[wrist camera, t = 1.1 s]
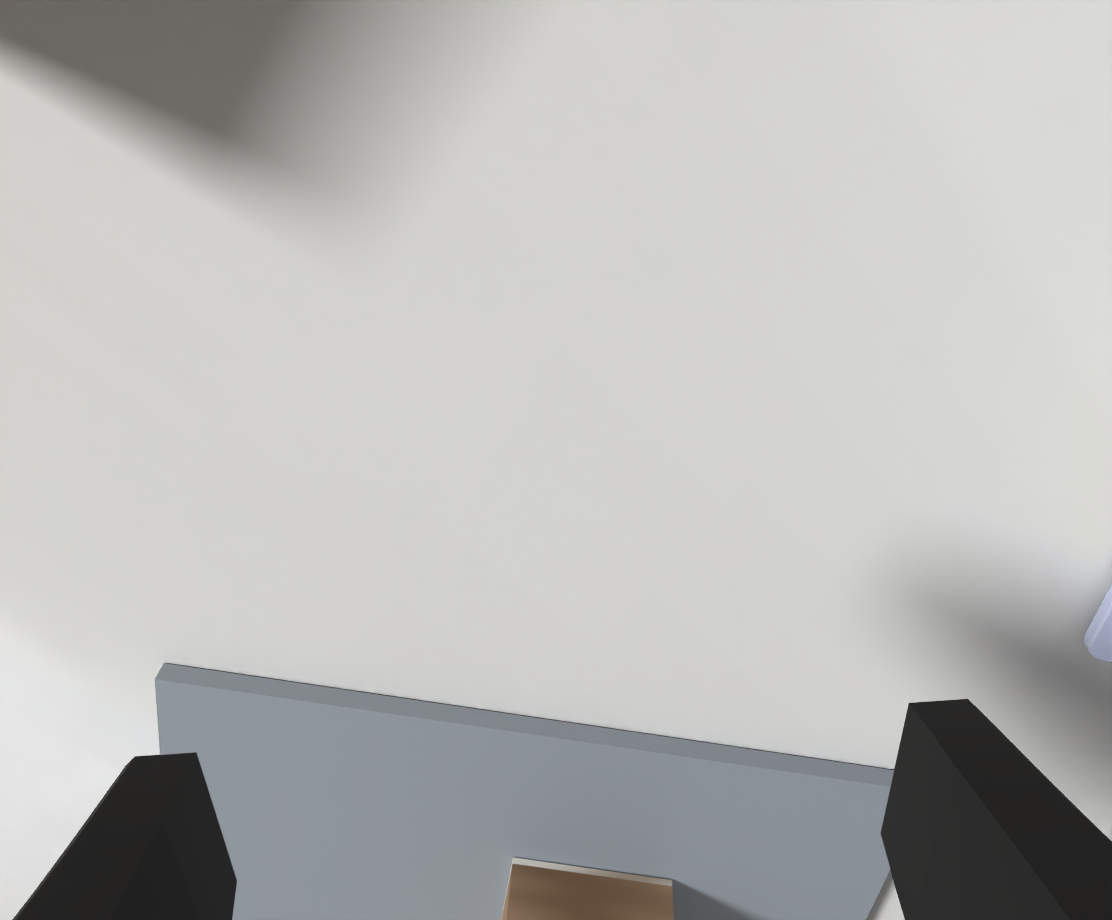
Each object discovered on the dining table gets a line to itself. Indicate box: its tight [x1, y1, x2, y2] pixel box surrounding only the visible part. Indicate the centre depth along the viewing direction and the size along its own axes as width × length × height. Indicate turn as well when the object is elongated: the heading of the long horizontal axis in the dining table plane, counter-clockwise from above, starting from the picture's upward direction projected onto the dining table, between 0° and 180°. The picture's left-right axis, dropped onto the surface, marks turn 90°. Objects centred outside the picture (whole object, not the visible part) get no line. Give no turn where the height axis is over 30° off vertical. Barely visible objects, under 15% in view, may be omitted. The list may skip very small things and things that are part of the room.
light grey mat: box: [155, 663, 894, 920], centre depth 30 cm, size 20×14×1 cm
